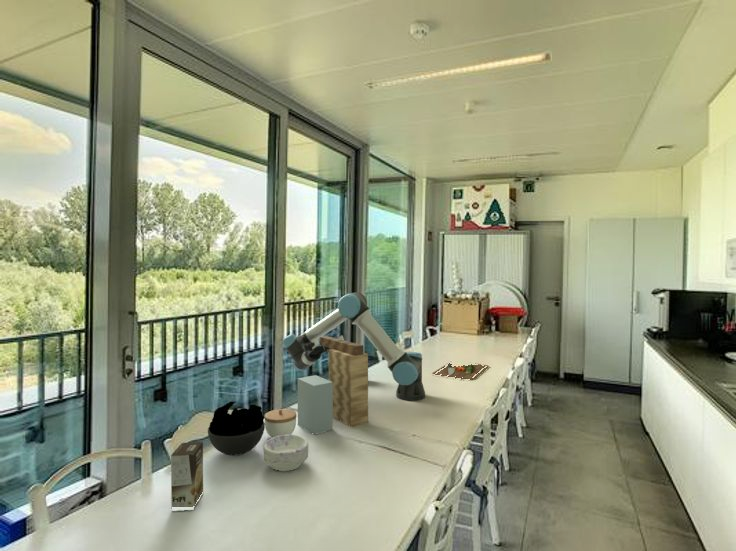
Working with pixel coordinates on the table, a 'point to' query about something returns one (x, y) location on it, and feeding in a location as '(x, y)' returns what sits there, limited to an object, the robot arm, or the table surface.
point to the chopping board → (461, 371)
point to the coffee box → (187, 474)
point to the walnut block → (341, 345)
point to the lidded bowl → (280, 422)
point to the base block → (315, 404)
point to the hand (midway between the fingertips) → (330, 339)
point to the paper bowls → (285, 452)
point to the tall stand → (349, 386)
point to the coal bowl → (236, 429)
